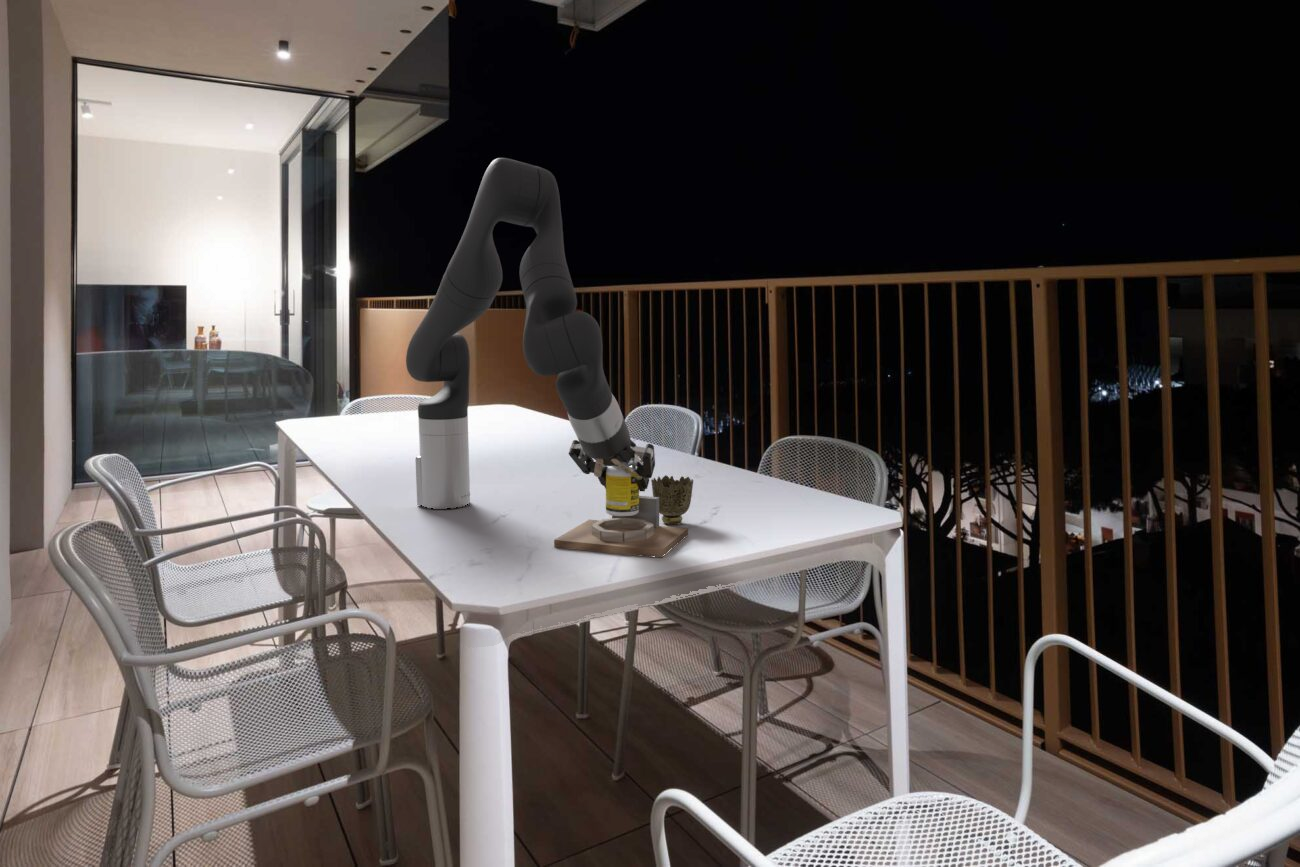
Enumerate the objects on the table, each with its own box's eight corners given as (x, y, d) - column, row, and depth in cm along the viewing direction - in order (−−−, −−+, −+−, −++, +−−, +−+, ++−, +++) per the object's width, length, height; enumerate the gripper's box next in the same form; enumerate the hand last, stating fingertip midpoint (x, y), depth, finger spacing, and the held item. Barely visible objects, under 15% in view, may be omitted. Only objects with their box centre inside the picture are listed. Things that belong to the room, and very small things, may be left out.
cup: (698, 520, 147) (698, 476, 146) (686, 530, 140) (686, 484, 139) (658, 516, 150) (659, 473, 149) (645, 526, 143) (645, 481, 142)
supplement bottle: (635, 517, 129) (635, 456, 128) (602, 516, 130) (601, 455, 129) (642, 510, 134) (642, 451, 133) (610, 508, 136) (610, 450, 134)
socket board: (554, 547, 130) (553, 509, 129) (589, 526, 143) (589, 491, 142) (661, 558, 124) (661, 518, 123) (687, 535, 137) (688, 499, 136)
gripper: (649, 403, 121) (673, 469, 133) (561, 400, 125) (592, 464, 138) (637, 443, 116) (663, 508, 129) (546, 439, 121) (579, 501, 134)
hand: (626, 485), depth 134 cm, fingers closed on supplement bottle, 5 cm apart
